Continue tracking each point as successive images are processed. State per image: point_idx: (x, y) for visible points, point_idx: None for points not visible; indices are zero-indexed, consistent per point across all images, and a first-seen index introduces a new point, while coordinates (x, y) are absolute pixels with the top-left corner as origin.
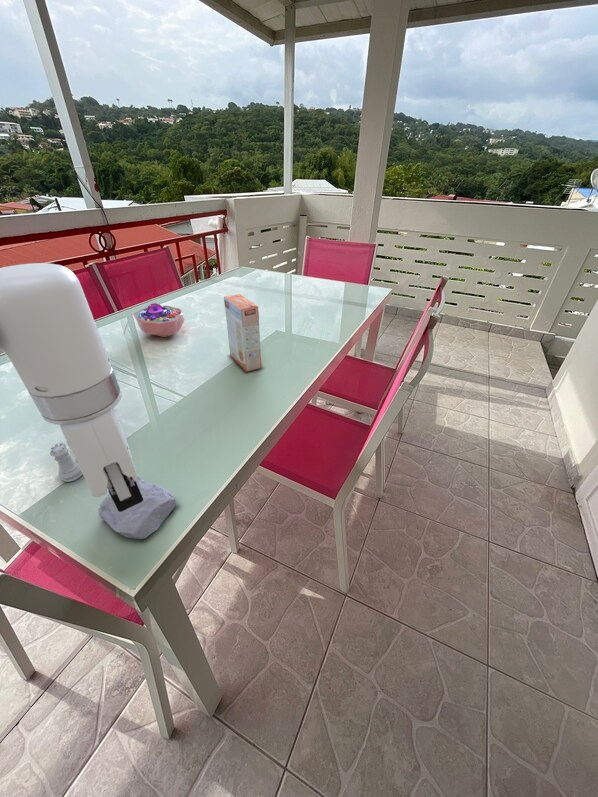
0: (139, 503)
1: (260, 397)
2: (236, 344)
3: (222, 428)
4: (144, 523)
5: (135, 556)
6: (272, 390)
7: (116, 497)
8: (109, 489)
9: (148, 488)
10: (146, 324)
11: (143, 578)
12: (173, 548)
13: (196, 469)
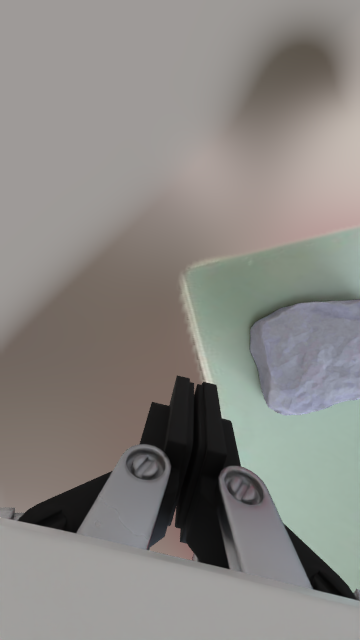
0: (309, 366)
1: None
2: None
3: (348, 547)
4: (262, 347)
5: (234, 300)
6: None
7: (168, 426)
8: (98, 495)
9: (328, 396)
10: None
11: (189, 290)
12: (197, 347)
13: (304, 461)
